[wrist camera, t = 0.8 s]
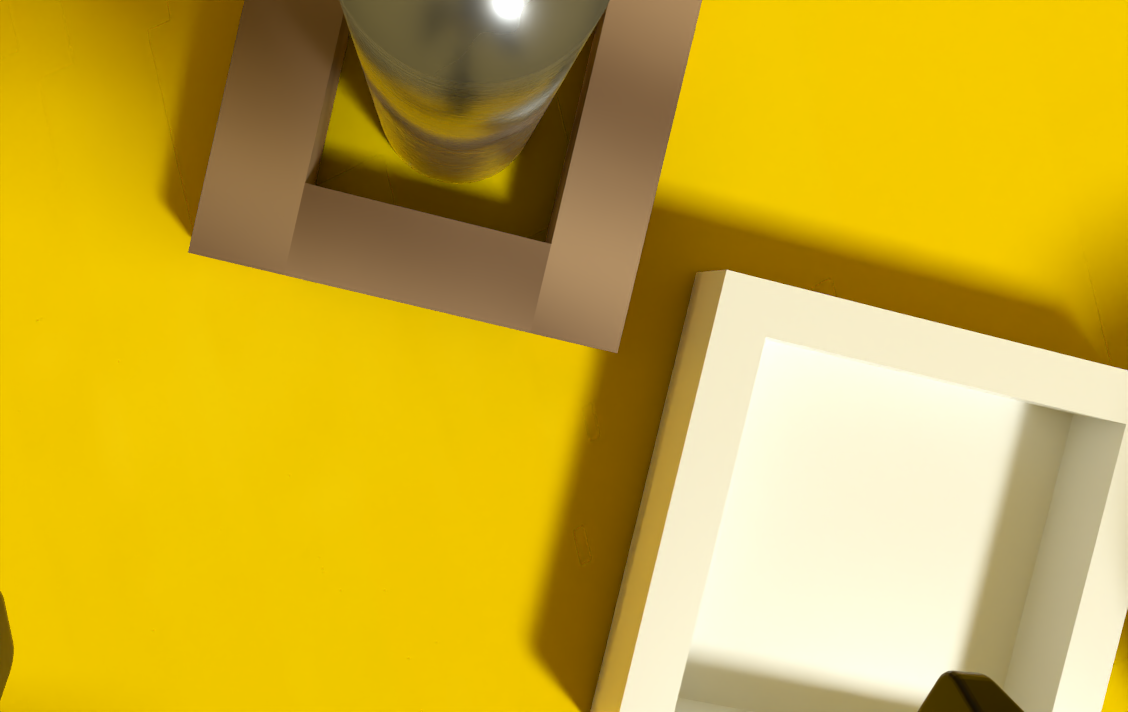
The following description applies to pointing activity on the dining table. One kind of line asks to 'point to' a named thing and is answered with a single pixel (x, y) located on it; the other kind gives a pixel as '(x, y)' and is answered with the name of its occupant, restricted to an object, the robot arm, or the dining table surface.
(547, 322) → the brown flat square frame
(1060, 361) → the bin tray
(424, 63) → the strut
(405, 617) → the dining table surface
